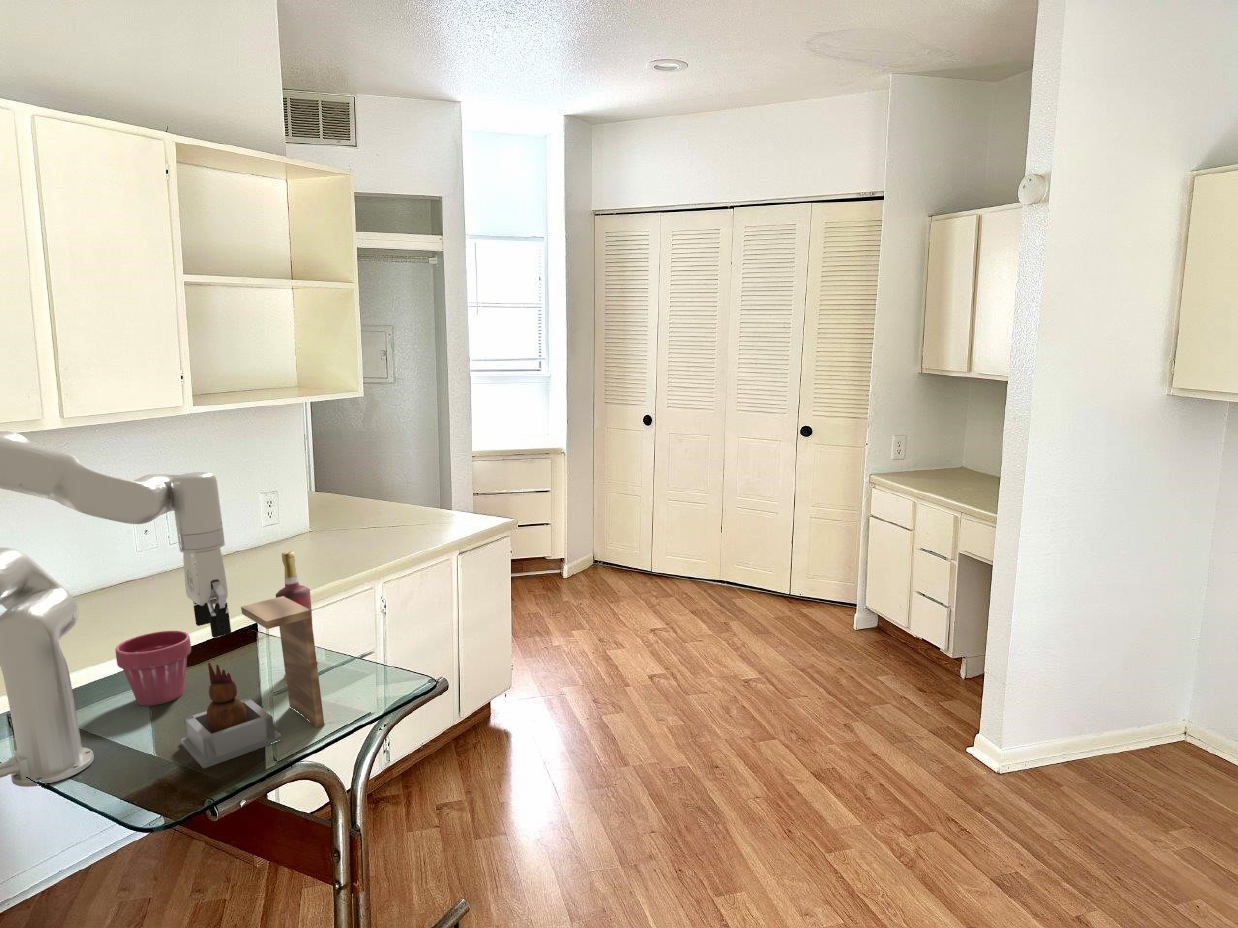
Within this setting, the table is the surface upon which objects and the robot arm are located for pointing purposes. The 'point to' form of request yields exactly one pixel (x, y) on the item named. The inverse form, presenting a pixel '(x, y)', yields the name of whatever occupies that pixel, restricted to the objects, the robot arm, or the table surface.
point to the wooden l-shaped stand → (294, 652)
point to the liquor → (294, 584)
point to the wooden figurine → (223, 702)
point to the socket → (228, 736)
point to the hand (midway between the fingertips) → (213, 629)
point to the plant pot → (155, 665)
